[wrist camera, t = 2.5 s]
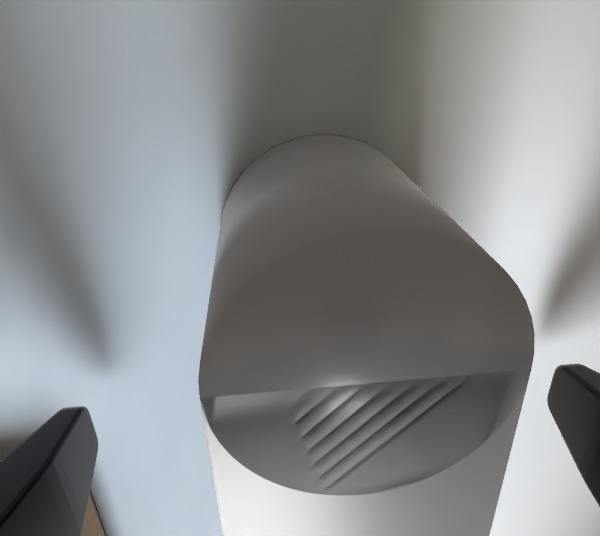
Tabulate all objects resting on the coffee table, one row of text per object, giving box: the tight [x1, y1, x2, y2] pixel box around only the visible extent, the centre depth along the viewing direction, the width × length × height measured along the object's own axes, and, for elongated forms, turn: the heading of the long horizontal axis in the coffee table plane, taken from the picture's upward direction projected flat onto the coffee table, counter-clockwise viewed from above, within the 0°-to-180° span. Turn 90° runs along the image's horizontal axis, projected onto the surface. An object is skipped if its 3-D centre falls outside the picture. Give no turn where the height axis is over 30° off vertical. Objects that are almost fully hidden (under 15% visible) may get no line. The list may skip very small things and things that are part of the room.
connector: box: [198, 135, 534, 536], centre depth 9 cm, size 4×12×4 cm, turn 2°
